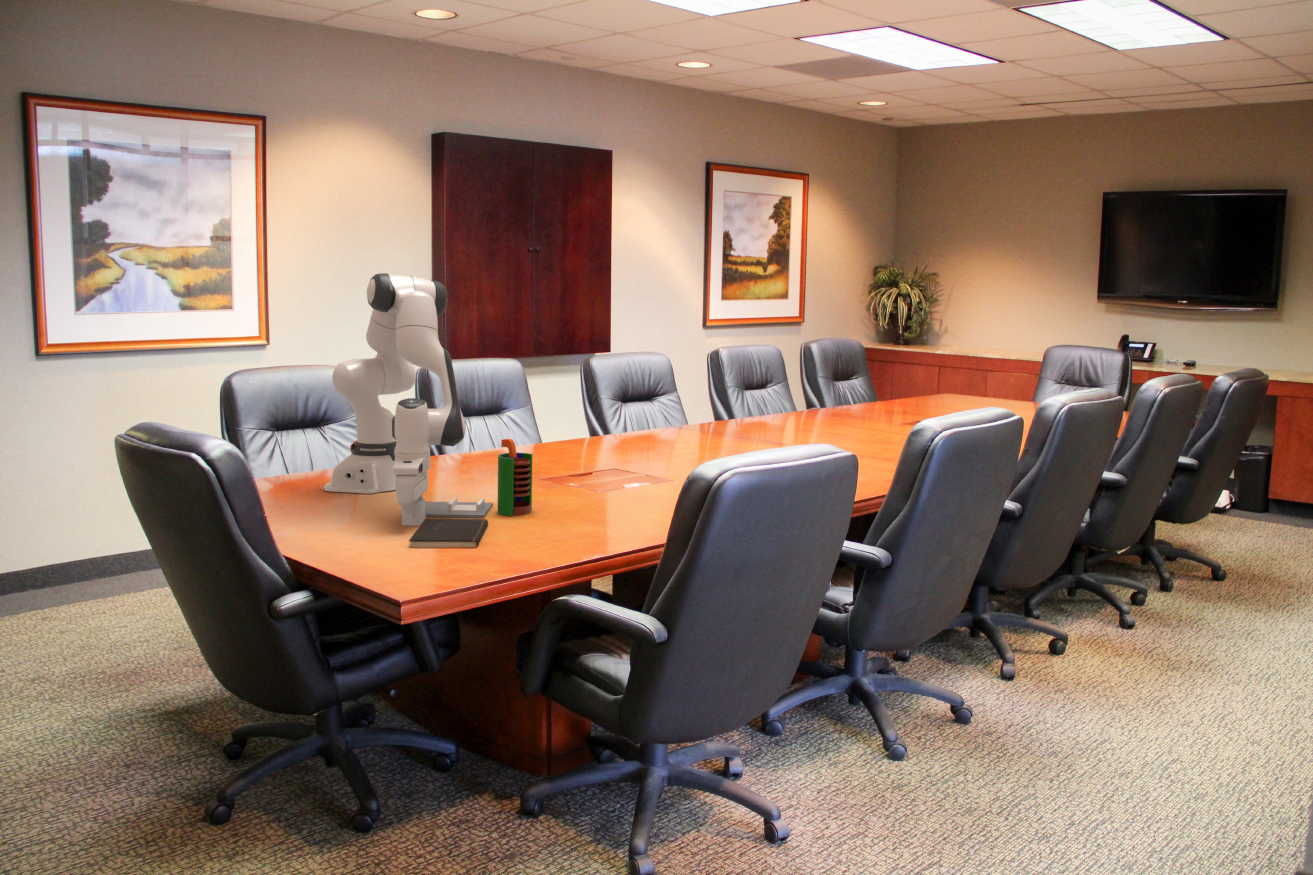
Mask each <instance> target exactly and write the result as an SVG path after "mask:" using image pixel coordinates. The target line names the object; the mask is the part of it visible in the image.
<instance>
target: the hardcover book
mask: <svg viewBox="0 0 1313 875" xmlns="http://www.w3.org/2000/svg"><path fill="white" fill-rule="evenodd" d="M488 527H489V521H488V519H487V518H426V519H425V520H424V521H423V523H422V524H421V525H420V526H419V527H418V528H417V529H416V530H415V532H414V533H413V534H412V536H410V538H409V539H408V542H409V543H410V548H443V549H444V548H447V547H448V549H449V547H476V548H475V549H477V548H478V547H479V544H480V543H479V542H481V541H480V540H482V539H481V538H483V537H484V535H483V534H485V533H484V532H486V531H485V530H487V529H488ZM482 536H483V537H482Z"/></svg>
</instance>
